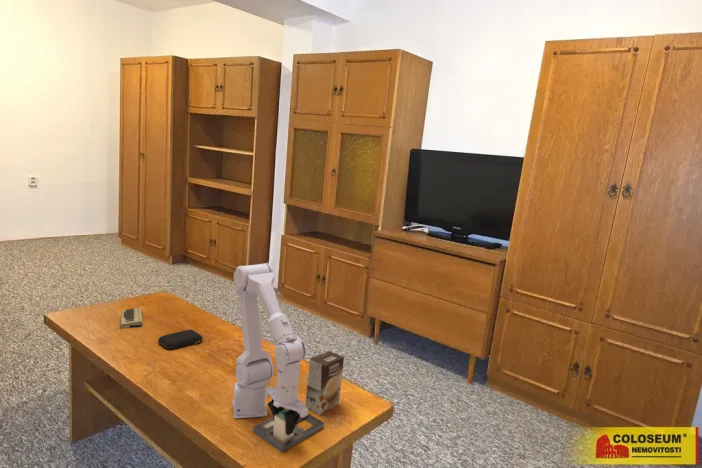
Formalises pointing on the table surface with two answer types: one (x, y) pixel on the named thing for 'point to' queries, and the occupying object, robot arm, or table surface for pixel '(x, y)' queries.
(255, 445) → the table surface
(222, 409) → the table surface
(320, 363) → the coffee box
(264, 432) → the panel
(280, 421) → the plug
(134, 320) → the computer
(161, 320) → the table surface
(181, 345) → the carrying case or bag
